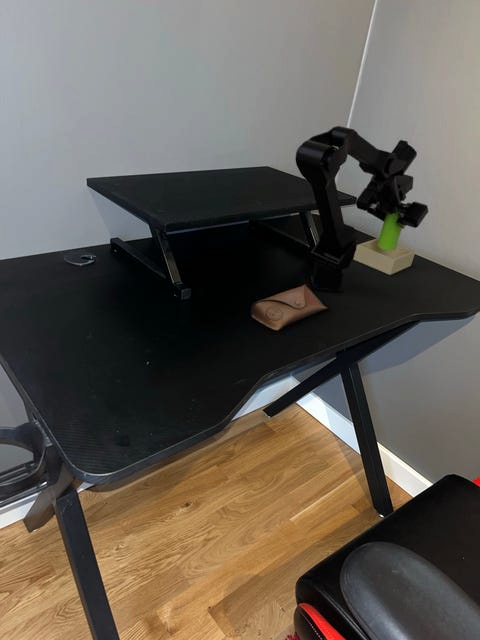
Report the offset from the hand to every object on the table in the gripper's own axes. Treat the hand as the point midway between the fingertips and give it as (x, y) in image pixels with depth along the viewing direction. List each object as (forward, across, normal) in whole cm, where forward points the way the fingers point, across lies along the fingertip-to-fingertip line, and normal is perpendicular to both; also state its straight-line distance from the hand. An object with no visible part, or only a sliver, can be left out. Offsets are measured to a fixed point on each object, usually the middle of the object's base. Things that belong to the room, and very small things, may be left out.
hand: (395, 224), depth 129 cm
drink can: (+4, 0, +6) cm, 7 cm away
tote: (+7, 0, +9) cm, 12 cm away
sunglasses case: (-25, -4, +42) cm, 50 cm away
